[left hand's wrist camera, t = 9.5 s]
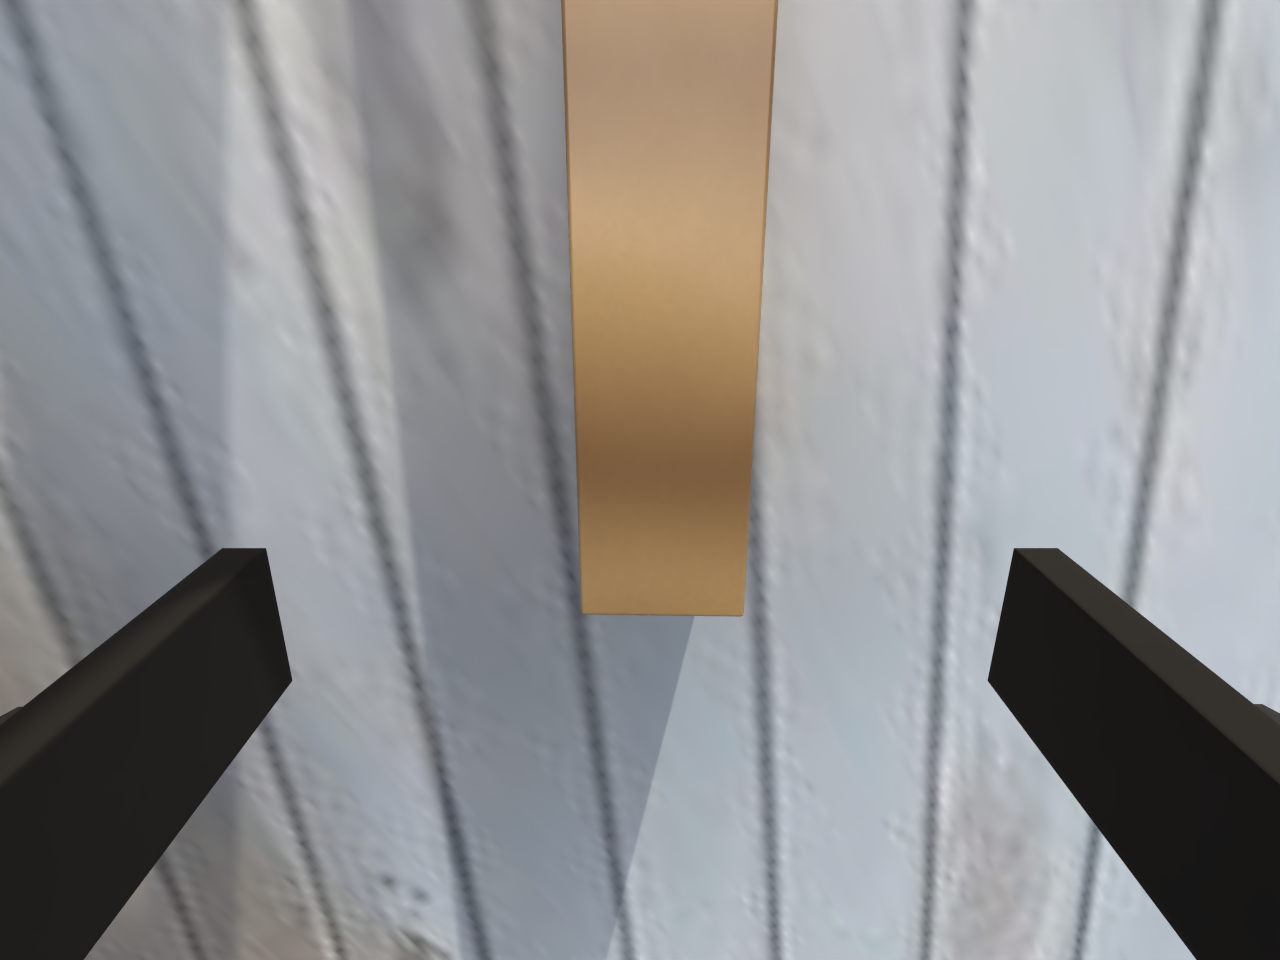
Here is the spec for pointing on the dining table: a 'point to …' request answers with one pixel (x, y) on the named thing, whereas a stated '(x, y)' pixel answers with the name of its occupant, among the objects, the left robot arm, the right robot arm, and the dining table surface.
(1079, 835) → the dining table surface
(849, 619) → the dining table surface
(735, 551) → the bar
